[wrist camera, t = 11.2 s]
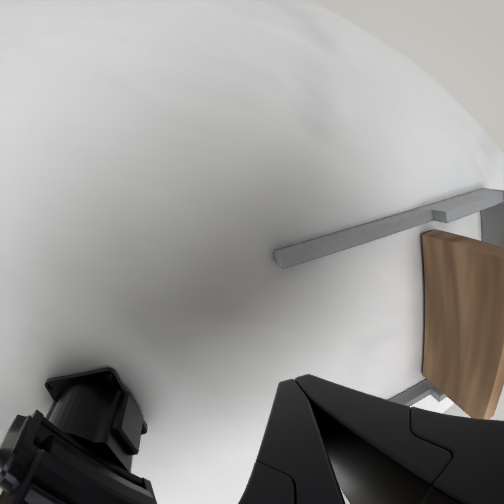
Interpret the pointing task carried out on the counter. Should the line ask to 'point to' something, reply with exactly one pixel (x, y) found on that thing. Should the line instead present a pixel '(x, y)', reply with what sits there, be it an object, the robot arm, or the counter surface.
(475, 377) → the board
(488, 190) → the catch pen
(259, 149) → the counter surface
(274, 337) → the counter surface
